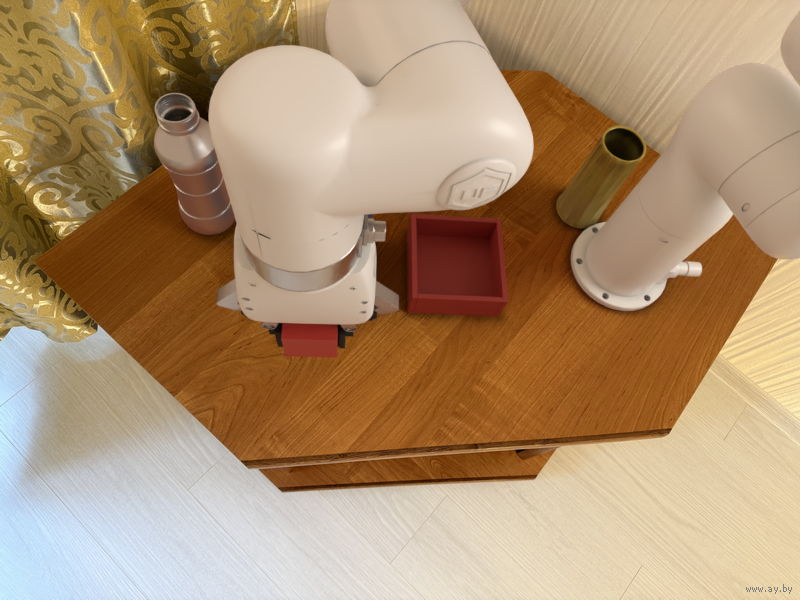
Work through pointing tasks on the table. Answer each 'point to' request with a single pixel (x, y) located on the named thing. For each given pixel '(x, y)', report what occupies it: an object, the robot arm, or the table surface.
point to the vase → (600, 176)
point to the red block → (309, 339)
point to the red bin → (455, 265)
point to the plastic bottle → (192, 165)
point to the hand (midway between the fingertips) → (312, 331)
